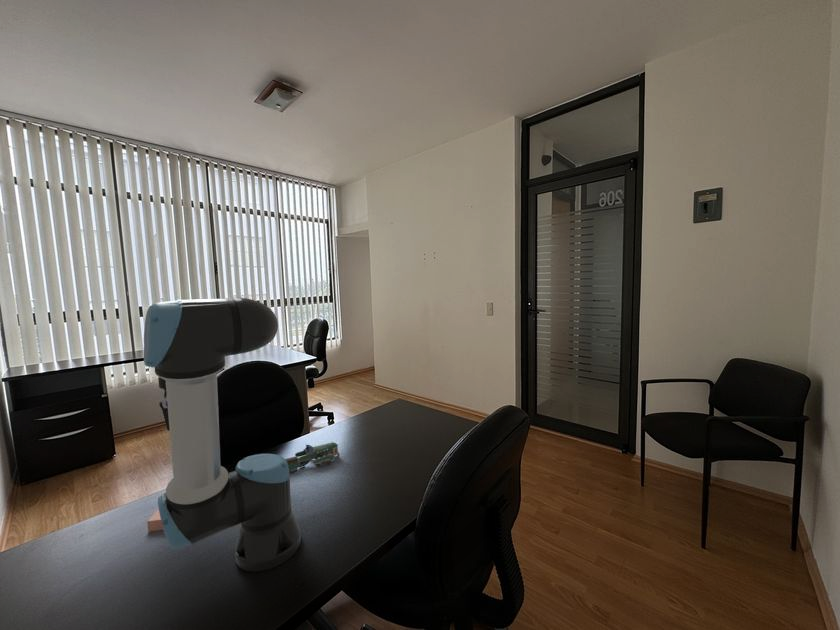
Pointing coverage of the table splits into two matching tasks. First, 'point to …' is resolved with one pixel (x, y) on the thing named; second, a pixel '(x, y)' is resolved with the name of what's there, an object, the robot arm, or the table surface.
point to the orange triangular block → (155, 522)
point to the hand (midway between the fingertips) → (180, 448)
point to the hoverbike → (313, 456)
